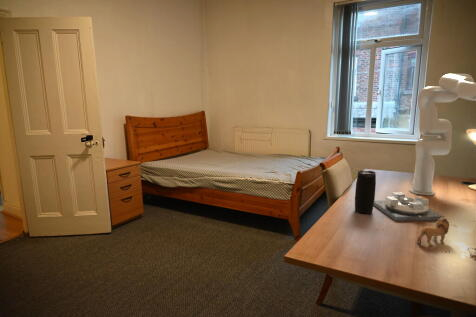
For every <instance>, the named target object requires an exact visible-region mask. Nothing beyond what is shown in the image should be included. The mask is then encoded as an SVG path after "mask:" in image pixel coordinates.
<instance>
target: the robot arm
mask: <svg viewBox="0 0 476 317" xmlns="http://www.w3.org/2000/svg"><path fill="white" fill-rule="evenodd" d="M438 85H439V86H438ZM438 85H437V86H436V85H434V86H433V85H432V86H430V85H429V86H426V87H423V88H421V90H420V92H419V93H418V97H417V103H418V108H419V121H418V124H419V126H418V128H419V134H420V135H422V136H425V137H423V138H420V139H418V140H417V141H416V142H415V162H414V164H415V166H414V174H413V182H411V183H410V185H411V186H412V187H409V189H408V190H409V192H411V193H412V194H416V195H419V196H433V195H435V191H434V190H433V182H434V174H435V168H436V167H435V166H436V163H435V159H434V157H433V156H446V155H449V153H450V152H451V149H452V138H453V136H452V135H453V127H452V122H451V121H450V120H448V119H445V118H439V117H438V114H439V113H438V109H437V106H436V105H435V104H434V103H452V102H455V101H456V100H457V99H458V98H460V99H464V100H467V101H475V102H476V82H475V80H474V78H473V77H472V75H471V74H468V73H447V74H445V75H442V76H441V77H440V78H439V81H438ZM428 136H431V137H428ZM433 136H434V137H435V138H434V137H433ZM426 137H428V138H426ZM436 137H437V138H436Z"/></svg>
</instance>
